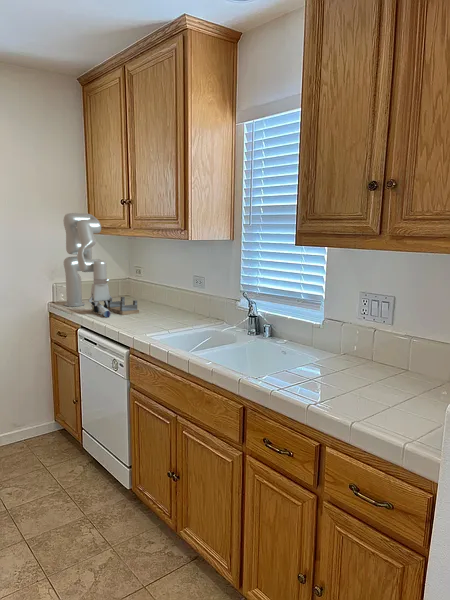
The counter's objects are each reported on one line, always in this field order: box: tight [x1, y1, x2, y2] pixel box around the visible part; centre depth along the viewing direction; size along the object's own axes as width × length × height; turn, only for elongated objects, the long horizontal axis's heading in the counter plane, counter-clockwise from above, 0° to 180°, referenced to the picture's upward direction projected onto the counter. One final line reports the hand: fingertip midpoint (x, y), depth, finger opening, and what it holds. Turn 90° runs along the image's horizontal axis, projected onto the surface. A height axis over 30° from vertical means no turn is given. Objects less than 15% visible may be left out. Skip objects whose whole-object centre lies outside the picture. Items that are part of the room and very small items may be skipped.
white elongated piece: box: [90, 300, 111, 318], centre depth 270 cm, size 5×7×25 cm
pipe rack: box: [108, 296, 140, 316], centre depth 279 cm, size 21×11×8 cm, turn 40°
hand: (100, 311), depth 271 cm, fingers closed on white elongated piece, 5 cm apart
